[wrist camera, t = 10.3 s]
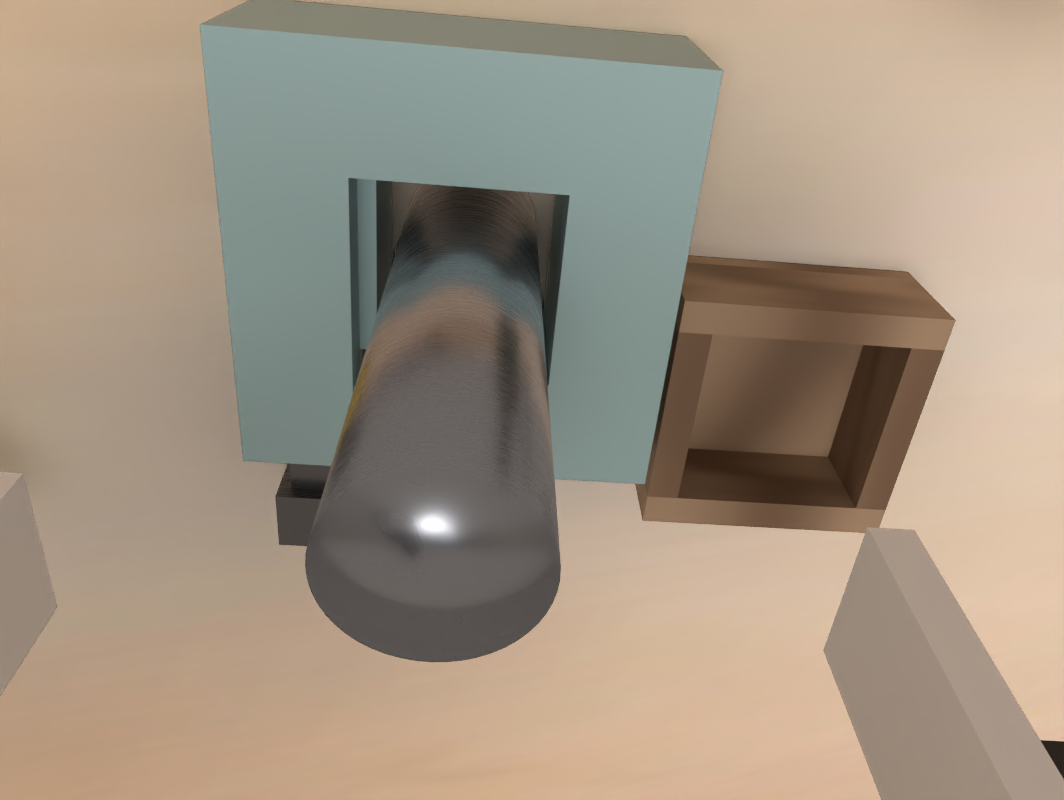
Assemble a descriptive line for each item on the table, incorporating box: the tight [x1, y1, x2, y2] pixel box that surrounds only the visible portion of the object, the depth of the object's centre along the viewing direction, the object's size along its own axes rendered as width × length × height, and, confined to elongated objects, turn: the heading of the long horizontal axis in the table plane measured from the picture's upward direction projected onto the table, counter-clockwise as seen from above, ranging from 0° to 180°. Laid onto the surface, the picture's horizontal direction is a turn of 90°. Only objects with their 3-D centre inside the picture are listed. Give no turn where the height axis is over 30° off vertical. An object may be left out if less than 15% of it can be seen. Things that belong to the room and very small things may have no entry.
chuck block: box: [200, 0, 723, 484], centre depth 25 cm, size 12×12×5 cm
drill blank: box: [305, 184, 561, 662], centre depth 21 cm, size 4×4×16 cm
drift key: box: [276, 349, 364, 546], centre depth 28 cm, size 3×10×4 cm, turn 175°
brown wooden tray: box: [635, 256, 955, 533], centre depth 29 cm, size 8×8×4 cm
